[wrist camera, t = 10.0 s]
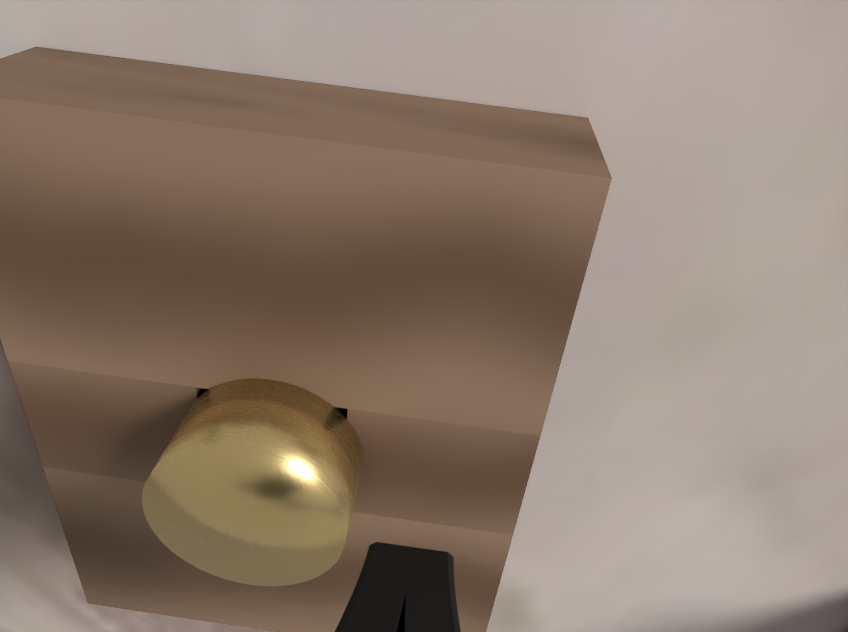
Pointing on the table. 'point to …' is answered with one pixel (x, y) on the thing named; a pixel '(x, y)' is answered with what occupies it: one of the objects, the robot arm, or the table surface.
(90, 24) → the table surface
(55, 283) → the walnut block
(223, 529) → the brass peg
